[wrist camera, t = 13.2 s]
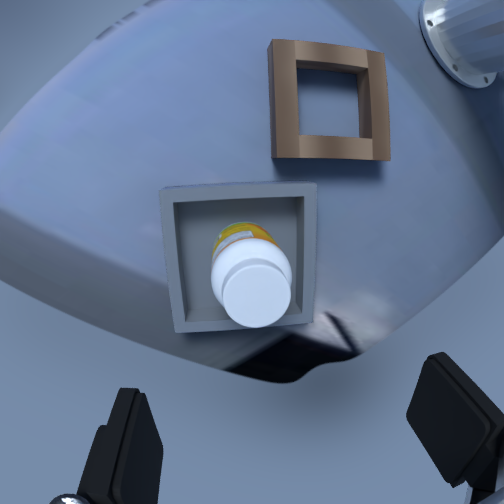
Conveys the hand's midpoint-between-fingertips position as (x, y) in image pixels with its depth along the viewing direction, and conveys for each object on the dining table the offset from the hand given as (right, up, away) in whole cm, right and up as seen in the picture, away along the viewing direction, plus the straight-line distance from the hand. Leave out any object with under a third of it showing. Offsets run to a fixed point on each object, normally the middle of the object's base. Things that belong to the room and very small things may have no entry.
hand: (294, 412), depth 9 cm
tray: (-2, +5, +19) cm, 20 cm away
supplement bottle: (-2, +5, +18) cm, 19 cm away
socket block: (+5, +18, +16) cm, 25 cm away
